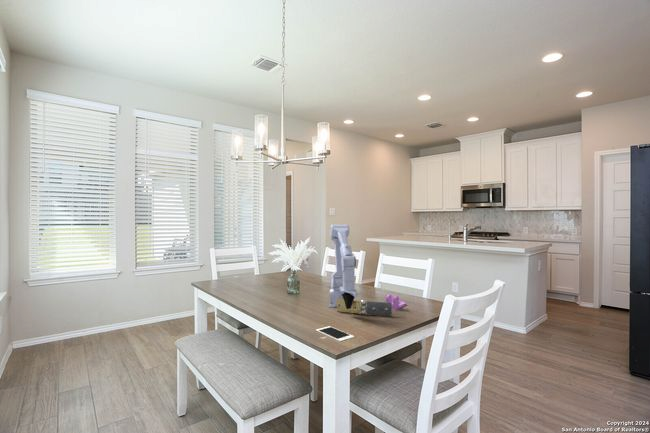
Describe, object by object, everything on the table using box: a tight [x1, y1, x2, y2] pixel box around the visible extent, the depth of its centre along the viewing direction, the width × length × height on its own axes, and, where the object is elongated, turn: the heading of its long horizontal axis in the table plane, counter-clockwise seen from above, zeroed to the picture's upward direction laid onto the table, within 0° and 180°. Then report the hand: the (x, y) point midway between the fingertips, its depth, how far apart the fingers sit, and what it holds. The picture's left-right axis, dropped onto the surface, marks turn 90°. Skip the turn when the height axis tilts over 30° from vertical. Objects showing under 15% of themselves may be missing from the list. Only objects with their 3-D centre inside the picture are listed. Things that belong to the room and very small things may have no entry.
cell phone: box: [315, 325, 355, 342], centre depth 133 cm, size 8×16×1 cm, turn 38°
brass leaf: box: [336, 299, 367, 315], centre depth 161 cm, size 15×2×6 cm, turn 70°
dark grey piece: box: [360, 299, 393, 317], centre depth 157 cm, size 15×2×7 cm, turn 77°
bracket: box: [385, 293, 406, 311], centre depth 173 cm, size 13×6×7 cm, turn 139°
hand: (348, 308), depth 156 cm, fingers closed
